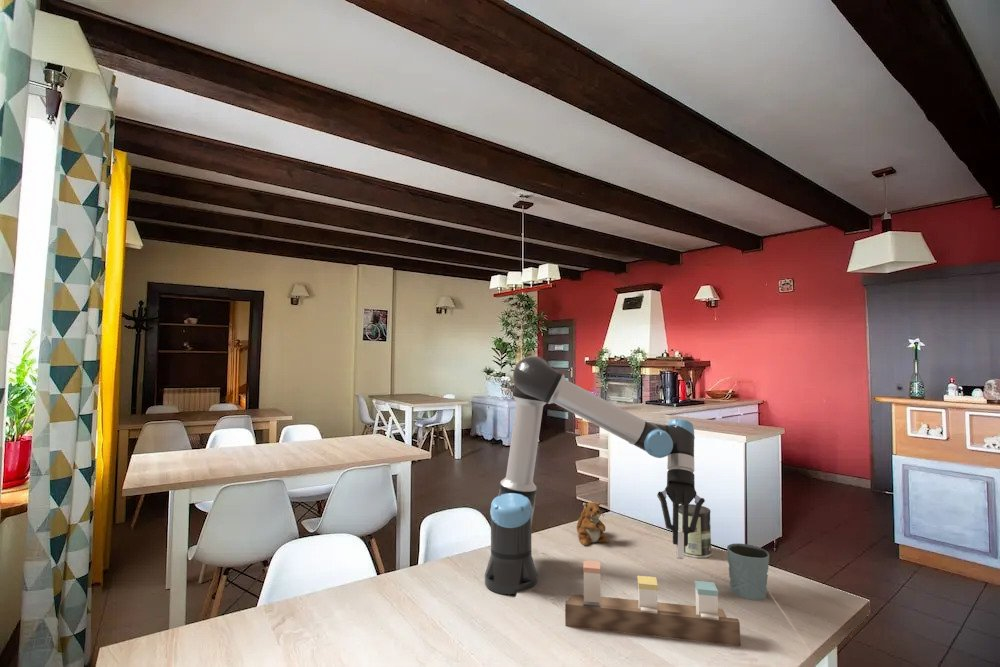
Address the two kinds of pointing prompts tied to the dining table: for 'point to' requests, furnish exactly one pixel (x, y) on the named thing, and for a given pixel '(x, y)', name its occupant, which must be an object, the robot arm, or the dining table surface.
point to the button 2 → (706, 598)
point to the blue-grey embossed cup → (748, 571)
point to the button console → (652, 620)
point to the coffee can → (697, 533)
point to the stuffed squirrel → (590, 524)
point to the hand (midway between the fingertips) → (680, 558)
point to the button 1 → (591, 581)
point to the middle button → (647, 592)
